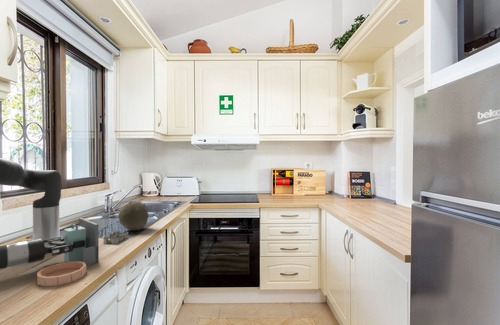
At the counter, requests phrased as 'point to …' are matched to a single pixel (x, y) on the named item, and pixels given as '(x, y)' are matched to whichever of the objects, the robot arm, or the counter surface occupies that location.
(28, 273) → the counter surface
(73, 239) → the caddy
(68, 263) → the dish
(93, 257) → the screen
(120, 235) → the miniature stone ruin
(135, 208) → the cantaloupe
